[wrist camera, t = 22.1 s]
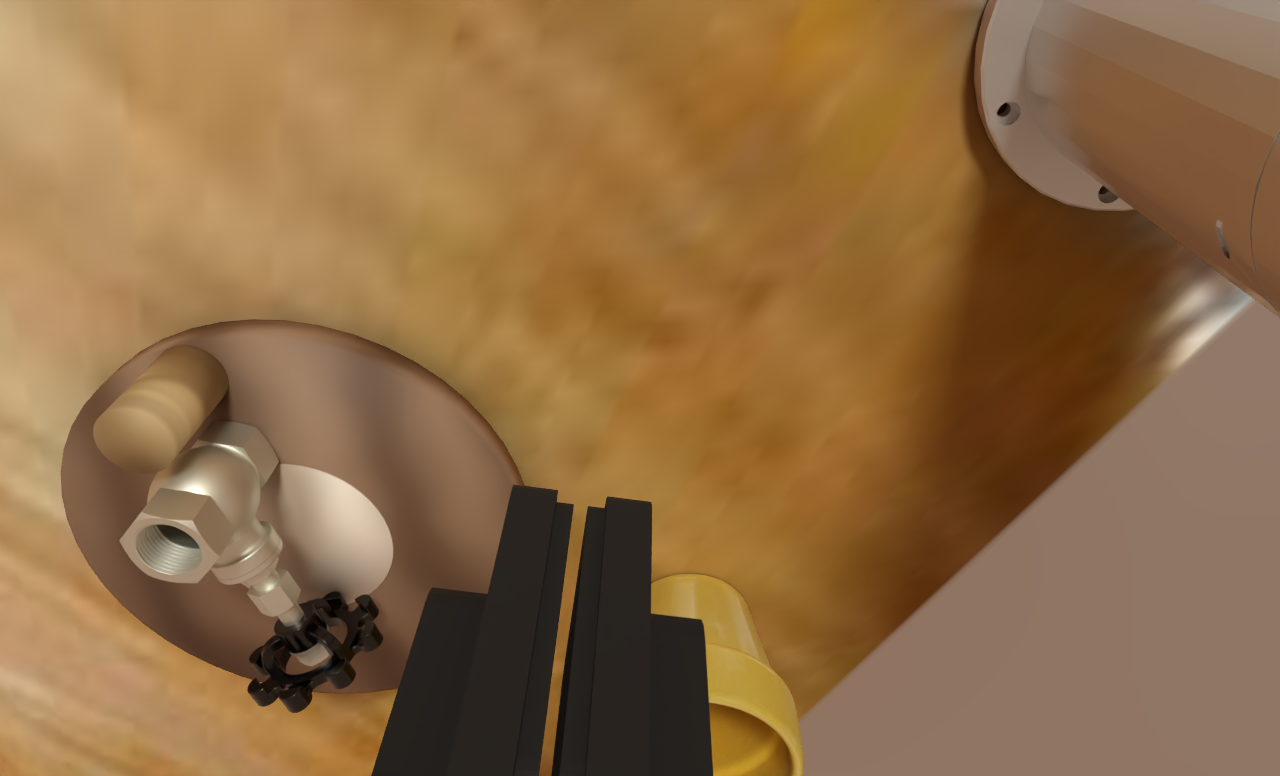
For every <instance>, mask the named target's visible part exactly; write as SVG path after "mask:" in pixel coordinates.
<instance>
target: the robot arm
mask: <svg viewBox="0 0 1280 776" xmlns="http://www.w3.org/2000/svg"><path fill="white" fill-rule="evenodd" d="M974 84H975V92H976V99H977V107H978V111H979V114H980V117H981V120H982V122H983V125H984V128H985V131H986V134H987V136H988V138H989V140H990V141H991V143H992V144H993V146H994V148H995V149H996V151H997V152H998V154H999V155H1000V157H1001V158H1002V160H1003V161H1004V162H1005V163H1006V164H1007V165H1008V166H1009V167H1010V168H1011V169H1012V170H1013V171H1014V172H1015V173H1016V174H1017V175H1018V176H1019V177H1020V178H1021V179H1023V180H1024V181H1025V182H1027V183H1028V184H1029V185H1031V186H1032V187H1033V188H1035V189H1036V190H1037V191H1039V192H1040V193H1042V194H1044V195H1046V196H1048V197H1051V198H1053V199H1055V200H1057V201H1060V202H1062V203H1064V204H1066V205H1071V206H1076V207H1080V208H1085V209H1090V210H1094V211H1128V210H1136V211H1138V212H1139V213H1140V214H1142V215H1143V216H1144V217H1146V218H1147V219H1148V220H1150V221H1151V222H1152V223H1154V224H1155V225H1156V226H1158V227H1159V228H1160V229H1162V230H1163V231H1164V232H1166V233H1167V234H1168V235H1170V236H1171V237H1172V238H1174V239H1175V240H1176V241H1178V242H1179V243H1180V244H1182V245H1183V246H1184V247H1186V248H1187V249H1188V250H1190V251H1191V252H1192V253H1194V254H1195V255H1196V256H1198V257H1199V258H1200V259H1202V260H1203V261H1204V262H1206V263H1207V264H1208V265H1210V266H1211V267H1212V268H1214V269H1215V270H1216V271H1218V272H1219V273H1220V274H1222V275H1223V276H1224V277H1226V278H1227V279H1228V280H1230V281H1231V282H1232V283H1234V284H1235V285H1236V286H1238V287H1239V288H1240V289H1242V290H1243V291H1244V292H1246V293H1247V294H1248V295H1250V296H1251V297H1252V298H1254V299H1255V300H1256V301H1258V302H1259V303H1260V304H1262V305H1263V306H1264V307H1266V308H1267V309H1268V310H1269V311H1271V312H1272V313H1273V314H1275V315H1276V316H1278V317H1279V318H1280V0H989V1H988V3H987V6H986V8H985V10H984V14H983V18H982V22H981V26H980V30H979V35H978V39H977V43H976V50H975V67H974ZM1005 102H1006V103H1007V108H1006V110H1005V111H1004V112H1003V113H1001V114H997V111H998V109H999V107H1000V106H1001V105H1003V104H1004V103H1005ZM1102 186H1104V188H1103V189H1102V190H1100V189H1101V187H1102ZM557 494H558V490H552V489H544V488H536V487H528V486H520V485H513V487H512V490H511V494H510V499H509V503H508V507H507V512H506V516H505V520H504V525H503V529H502V533H501V538H500V542H499V546H498V551H497V555H496V559H495V564H494V568H493V572H492V577H491V581H490V585H489V590H488V594H484V593H476V592H467V591H459V590H451V589H442V588H434V587H432V588H431V590H430V591H429V593H428V596H427V599H426V602H425V604H424V608H423V611H422V614H421V617H420V621H419V624H418V627H417V630H416V633H415V637H414V640H413V643H412V646H411V650H410V653H409V656H408V659H407V662H406V666H405V669H404V672H403V675H402V679H401V682H400V685H399V688H398V691H397V695H396V698H395V701H394V704H393V707H392V711H391V714H390V717H389V720H388V724H387V727H386V730H385V733H384V736H383V740H382V743H381V746H380V749H379V753H378V756H377V759H376V762H375V765H374V769H373V772H372V775H371V776H539V769H540V762H541V754H542V746H543V738H544V731H545V723H546V715H547V707H548V700H549V692H550V684H551V677H552V669H553V661H554V653H555V646H556V638H557V630H558V622H559V615H560V607H561V599H562V592H563V584H564V576H565V568H566V561H567V553H568V545H569V537H570V530H571V522H572V514H573V507H574V504H566V503H558V502H557ZM651 556H652V504H651V502H646V501H639V500H631V499H623V498H615V497H607V499H606V504H605V508H598V507H590V506H588V510H587V516H586V523H585V529H584V536H583V543H582V550H581V556H580V563H579V570H578V577H577V583H576V590H575V597H574V604H573V610H572V617H571V624H570V631H569V637H568V644H567V651H566V658H565V665H564V672H563V680H562V688H561V697H560V706H559V714H558V723H557V731H556V740H555V749H554V757H553V766H552V775H551V776H713V761H712V744H711V728H710V711H709V694H708V677H707V661H706V644H705V632H704V625H703V622H702V619H694V618H685V617H677V616H668V615H660V614H652V613H651Z"/></svg>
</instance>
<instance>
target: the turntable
mask: <svg viewBox="0 0 1280 776" xmlns="http://www.w3.org/2000/svg"><path fill="white" fill-rule="evenodd" d="M213 420H219V421H230V422H237V423H242V424H246V425H249V426H253V427H255V428H257V429H258V430H259V431H260V432H261V433H262V434H263V435H264V436H265V438H266V439H267V440H268V442H269V443H270V445H271V447H272V448H273V450H274V452H275V454H276V456H277V458H278V460H279V463H278V464H277V466H276V467H275V469H274V471H273V472H272V474H271V475H270V477H269V479H268V480H267V482H266V483H265V484H264V485H263V487H262V488H261V489H260V503H259V507H258V510H257V513H256V515H255V516H256V518H257V519H258V521H265V522H268V523H270V524H271V525H272V527H273V528H274V529H275V531H276V532H277V534H278V535H279V537H280V538H281V539H282V542H283V546H282V550H281V552H280V554H279V555H278V558H279V559H278V563H277V565H276V567H277V568H280V569H284V570H287V571H288V572H289V574H290V575H291V576H292V578H293V579H294V581H295V582H296V583H297V585H298V586H299V588H300V589H301V592H300V595H299V598H298V600H297V601H296V602H297V603H298V604H301V603H306V602H307V601H309V600H313V599H317V598H323V597H324V596H325V595H327V594H328V593H330V592H334V591H337V592H339V593H340V594H341V595H342V597H343V598H344V600H345V601H346V603H347V604H348V606H349V609H348V611H350V612H352V611H354V610H355V609H356V608H357V607H358V604H357V603H356V601H355V598H357V597H359V596H361V595H364V594H368V595H370V596H371V598H372V599H373V601H374V602H375V604H376V605H377V607H378V608H379V614H378V616H377V617H376V619H375V620H373V622H374V623H375V624H376V626H377V627H378V629H379V630H380V632H381V633H382V635H383V642H382V643H381V645H380V646H379V647H378V648H377V649H375V650H373V651H371V652H364V651H360V652H359V653H357V654H356V655H355V656H354V657H353V659H352V660H351V661H350V664H351V665H352V667H353V668H354V670H355V671H356V677H355V679H354V681H353V682H352V683H351V684H350V685H349V686H347V687H346V688H344V689H335V688H334V687H333V686H332V685H331V683H330V682H329V681H328V682H325V683H323V684H321V685H320V686H318V687H316V688H315V689H314V690H313V691H312V692H320V693H363V692H376V691H382V690H389V689H396V688H399V685H400V682H401V679H402V675H403V672H404V669H405V666H406V662H407V659H408V656H409V653H410V650H411V646H412V643H413V640H414V637H415V633H416V630H417V627H418V624H419V621H420V617H421V614H422V611H423V608H424V604H425V602H426V599H427V596H428V593H429V591H430V590H431V588H432V587H434V588H442V589H451V590H459V591H467V592H476V593H484V594H488V590H489V585H490V581H491V577H492V572H493V568H494V564H495V559H496V555H497V551H498V546H499V542H500V538H501V533H502V529H503V525H504V520H505V516H506V512H507V507H508V503H509V499H510V494H511V490H512V487H513V485H520V486H524V484H523V481H522V479H521V476H520V473H519V471H518V468H517V466H516V464H515V462H514V461H513V459H512V457H511V455H510V453H509V452H508V450H507V448H506V446H505V444H504V443H503V442H502V440H501V439H500V438H499V436H498V435H497V434H496V432H495V431H494V430H493V428H492V427H491V426H490V424H489V423H488V421H487V420H486V419H485V418H484V417H483V416H482V415H481V414H480V413H479V412H478V411H477V410H476V409H475V408H474V407H473V406H472V405H471V404H470V403H469V402H468V401H467V400H466V399H465V398H464V397H463V396H462V395H460V394H459V393H458V392H457V391H456V390H454V389H453V388H452V387H451V386H449V385H448V384H447V383H446V382H445V381H443V380H442V379H441V378H439V377H438V376H436V375H434V374H433V373H431V372H430V371H428V370H427V369H425V368H424V367H422V366H421V365H419V364H418V363H416V362H414V361H412V360H410V359H409V358H407V357H405V356H403V355H401V354H399V353H397V352H395V351H393V350H391V349H389V348H387V347H385V346H382V345H380V344H377V343H374V342H372V341H369V340H366V339H364V338H361V337H359V336H356V335H353V334H350V333H346V332H342V331H338V330H334V329H331V328H327V327H323V326H319V325H312V324H305V323H299V322H292V321H282V320H241V321H229V322H220V323H215V324H210V325H206V326H201V327H197V328H192V329H189V330H186V331H183V332H181V333H178V334H175V335H173V336H170V337H167V338H164V339H162V340H161V341H159V342H157V343H155V344H153V345H152V346H150V347H148V348H146V349H144V350H143V351H141V352H139V353H138V354H137V355H135V356H134V357H133V358H132V359H130V360H129V361H128V362H127V363H125V364H124V365H123V366H122V367H120V368H119V369H118V370H117V371H116V372H115V373H114V374H113V375H112V376H111V377H110V378H109V379H108V380H107V381H106V382H105V383H103V384H102V385H101V386H100V387H99V389H98V390H97V391H96V392H95V393H94V394H93V395H92V397H91V398H90V399H89V400H88V401H87V402H86V404H85V405H84V406H83V408H82V409H81V411H80V413H79V415H78V416H77V418H76V420H75V421H74V423H73V425H72V427H71V430H70V433H69V435H68V438H67V441H66V444H65V447H64V452H63V460H62V467H61V485H62V498H63V502H64V507H65V511H66V516H67V520H68V522H69V525H70V527H71V530H72V533H73V535H74V538H75V540H76V543H77V544H78V546H79V548H80V550H81V552H82V553H83V555H84V557H85V559H86V560H87V562H88V564H89V566H90V567H91V568H92V570H93V571H94V572H95V574H96V575H97V576H98V578H99V579H100V580H101V582H102V583H103V585H104V586H105V587H106V588H107V589H108V590H109V591H110V592H111V593H112V594H113V596H114V597H115V598H116V599H117V600H118V601H119V602H120V603H121V604H122V605H123V606H124V607H125V608H126V609H127V610H128V611H130V612H131V613H132V614H133V615H134V616H135V617H136V618H138V619H139V620H140V621H141V622H142V623H143V624H145V625H146V626H147V627H149V628H150V629H152V630H153V631H154V632H156V633H157V634H158V635H160V636H161V637H163V638H164V639H165V640H167V641H169V642H170V643H172V644H174V645H175V646H177V647H179V648H181V649H182V650H184V651H186V652H187V653H189V654H191V655H193V656H195V657H197V658H199V659H201V660H203V661H205V662H207V663H209V664H212V665H214V666H216V667H219V668H221V669H224V670H226V671H229V672H232V673H234V674H237V675H239V676H242V677H246V678H249V679H255V678H257V680H258V681H259V682H265V681H266V680H267V679H268V678H269V677H270V675H267V676H261V675H259V674H258V672H257V671H256V670H255V669H254V667H253V666H252V665H251V664H250V662H249V657H250V655H251V654H252V653H253V652H254V651H255V650H256V649H257V648H259V647H261V646H263V645H264V644H265V643H266V642H267V641H268V640H269V639H270V638H271V637H273V636H274V635H276V634H275V632H274V626H275V623H276V621H277V620H278V619H279V618H278V616H274V617H270V616H267V615H265V614H263V613H261V612H260V610H259V609H258V608H257V606H256V605H255V604H254V603H253V601H252V600H251V599H250V597H249V596H248V595H247V592H248V590H249V588H250V587H251V585H244V584H241V583H238V584H233V585H226V584H223V583H221V582H220V581H219V580H218V579H217V577H216V576H215V575H214V573H213V572H212V571H211V570H209V571H208V572H207V573H206V574H205V575H204V577H203V578H202V579H201V580H200V581H199V582H198V583H176V582H169V581H164V580H160V579H157V578H154V577H151V576H148V575H147V574H146V573H144V572H143V571H142V570H141V569H139V568H138V567H137V566H136V564H135V563H134V562H133V561H132V560H131V559H130V557H129V556H128V554H127V553H126V552H125V550H124V548H123V546H122V545H121V543H120V541H119V540H120V539H121V538H122V536H123V535H124V534H125V532H126V531H127V530H128V528H129V527H130V526H131V524H132V523H133V522H134V521H135V519H136V518H137V517H138V515H139V514H140V513H141V511H142V510H143V509H144V508H145V506H146V505H147V498H148V493H149V489H150V486H151V483H152V481H153V480H154V478H155V476H156V474H157V473H158V472H160V471H162V470H164V469H165V468H167V467H168V466H169V465H170V464H171V462H172V461H173V460H174V459H175V457H176V456H177V455H178V454H180V453H182V452H184V451H186V450H189V449H191V448H192V446H193V445H194V444H195V442H196V441H197V440H198V439H199V437H200V436H201V435H202V433H203V432H204V431H205V430H206V428H207V427H208V426H209V424H210V423H211V422H212V421H213ZM364 626H365V625H364ZM364 626H363V630H364ZM329 632H330V633H331V634H333V635H334V636H335V637H336V638H337V639H338V640H339V641H340V643H341V644H343V642H344V640H345V638H346V635H347V627H345V626H333V627H329ZM331 657H332V656H331V655H329V656H328V657H327V658H326V659H324V660H323V661H322V662H320V663H318V664H316V665H313V666H308V665H305V664H303V663H301V662H300V661H299V660H298V659H297V657H295V656H292V655H291V657H290V659H289V661H288V663H287V666H286V673H287V674H290V675H296V674H302V673H305V672H309V671H311V670H313V669H315V668H317V667H319V666H320V665H322V664H323V663H325V662H326V661H327V660H328V659H330V658H331Z"/></svg>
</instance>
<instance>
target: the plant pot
mask: <svg viewBox="0 0 1280 776" xmlns="http://www.w3.org/2000/svg"><path fill="white" fill-rule="evenodd" d="M651 613H652V614H660V615H668V616H677V617H685V618H694V619H702V622H703V625H704V632H705V644H706V661H707V677H708V694H709V711H710V728H711V744H712V761H713V776H803V772H804V758H803V749H802V740H801V733H800V727H799V722H798V716H797V711H796V707H795V703H794V700H793V697H792V695H791V693H790V691H789V689H788V687H787V686H786V684H785V683H784V681H783V680H782V679H781V678H780V677H779V676H778V675H777V674H776V673H775V672H774V671H773V670H772V669H771V667H770V664H769V662H768V659H767V657H766V654H765V651H764V649H763V646H762V644H761V641H760V638H759V636H758V633H757V630H756V628H755V625H754V622H753V619H752V616H751V614H750V611H749V608H748V606H747V604H746V602H745V600H744V599H743V597H742V596H741V595H740V594H739V593H738V592H737V591H736V590H735V589H734V588H733V587H731V586H730V585H728V584H727V583H725V582H724V581H722V580H719V579H716V578H713V577H710V576H706V575H701V574H678V575H672V576H668V577H665V578H662V579H659V580H657V581H655V582H653V583H651Z"/></svg>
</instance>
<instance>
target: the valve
mask: <svg viewBox="0 0 1280 776" xmlns="http://www.w3.org/2000/svg"><path fill="white" fill-rule="evenodd" d="M278 463H279V460H278V458H277V456H276V454H275V452H274V450H273V448H272V447H271V445H270V443H269V442H268V440H267V439H266V438H265V436H264V435H263V434H262V433H261V432H260V431H259V430H258V429H257V428H255V427H253V426H249V425H246V424H242V423H237V422H230V421H219V420H213V421H212V422H211V423H210V424H209V426H208V427H207V428H206V430H205V431H204V432H203V433H202V435H201V436H200V437H199V439H198V440H197V441H196V442H195V444H194V445H193V446H192V448H191V449H189V450H186V451H184V452H182V453H180V454H178V455H177V456H176V457H175V459H174V460H173V461H172V462H171V464H170V465H169V466H168V467H167V468H165V469H164V470H162V471H160V472H158V473H157V474H156V476H155V478H154V480H153V481H152V483H151V486H150V489H149V493H148V498H147V505H146V506H145V508H144V509H143V510H142V511H141V513H140V514H139V515H138V517H137V518H136V519H135V521H134V522H133V523H132V524H131V526H130V527H129V528H128V530H127V531H126V532H125V534H124V535H123V536H122V538H121V539H120V540H119V541H120V543H121V545H122V546H123V548H124V550H125V552H126V553H127V554H128V556H129V557H130V559H131V560H132V561H133V562H134V563H135V564H136V566H137V567H138V568H139V569H141V570H142V571H143V572H144V573H146V574H147V575H148V576H151V577H154V578H157V579H160V580H164V581H169V582H176V583H198V582H199V581H200V580H201V579H202V578H203V577H204V575H205V574H206V573H207V572H208V571H209V570H211V571H212V572H213V573H214V575H215V576H216V577H217V579H218V580H219V581H220V582H221V583H223V584H226V585H233V584H238V583H241V584H244V585H251V587H250V588H249V590H248V592H247V595H248V596H249V597H250V599H251V600H252V601H253V603H254V604H255V605H256V606H257V608H258V609H259V610H260V612H261V613H263V614H265V615H267V616H270V617H274V616H278V618H279V619H278V620H277V621H276V623H275V626H274V632H275V634H276V635H274V636H273V637H271V638H270V639H269V640H268V641H267V642H266V643H265V644H264V645H263V646H261V647H259V648H257V649H256V650H255V651H254V652H253V653H252V654H251V655H250V657H249V662H250V664H251V665H252V666H253V667H254V669H255V670H256V671H257V672H258V674H259V675H261V676H267V675H270V677H269V678H268V679H267V680H266V681H265V682H263V683H260V682H259V681H258V680H257V678H255V679H253V680H252V682H251V683H250V684H249V686H248V693H249V694H250V695H251V697H252V698H253V699H254V700H255V701H256V703H257V704H258V705H259V706H262V707H264V706H268V705H270V704H272V703H273V702H274V701H275V700H276V699H277V698H278V697H279V699H280V700H281V701H282V702H283V704H284V705H285V706H286V707H287V709H288V710H289V711H290V712H292V713H297V712H300V711H302V710H304V709H305V708H306V707H307V706H308V705H309V704H310V702H311V700H312V694H311V693H312V691H313V690H314V689H315V688H316V687H318V686H320V685H321V684H323V683H325V682H328V681H329V682H330V683H331V685H332V686H333V687H334V688H335V689H344V688H346V687H347V686H349V685H350V684H351V683H352V682H353V681H354V679H355V677H356V671H355V670H354V668H353V667H352V665H351V664H350V661H351V660H352V659H353V657H354V656H355V655H356V654H357V653H359V652H360V651H364V652H371V651H373V650H375V649H377V648H378V647H379V646H380V645H381V643H382V642H383V635H382V633H381V632H380V630H379V629H378V627H377V626H376V624H375V623H374V622H373V620H375V619H376V617H377V616H378V614H379V608H378V607H377V605H376V604H375V602H374V601H373V599H372V598H371V596H370V595H368V594H364V595H361V596H359V597H357V598H355V601H356V603H357V604H358V607H357V608H356V609H355V610H354V611H352V612H350V611H348V609H349V606H348V604H347V603H346V601H345V600H344V598H343V597H342V595H341V594H340V593H339V592H337V591H334V592H330V593H328V594H327V595H325V596H324V597H323V598H317V599H313V600H309V601H307V602H306V603H301V604H298V603H297V602H296V601H297V600H298V598H299V595H300V592H301V589H300V588H299V586H298V585H297V583H296V582H295V581H294V579H293V578H292V576H291V575H290V574H289V572H288V571H287V570H284V569H280V568H277V567H276V565H277V563H278V559H279V558H278V555H279V554H280V552H281V550H282V546H283V542H282V539H281V538H280V537H279V535H278V534H277V532H276V531H275V529H274V528H273V527H272V525H271V524H270V523H268V522H265V521H258V519H257V518H256V516H255V515H256V513H257V510H258V507H259V503H260V489H261V488H262V487H263V485H264V484H265V483H266V482H267V480H268V479H269V477H270V475H271V474H272V472H273V471H274V469H275V467H276V466H277V464H278ZM364 625H365V626H364ZM333 626H345V627H347V635H346V638H345V640H344V642H343V644H341V643H340V641H339V640H338V639H337V638H336V637H335V636H334V635H333V634H331V633H330V632H329V627H333ZM363 626H364V630H363ZM291 655H292V656H295V657H297V659H298V660H299V661H300V662H301V663H303V664H305V665H308V666H313V665H316V664H318V663H320V662H322V661H323V660H324V659H326V658H327V657H328V656H329V655H331V656H332V657H331V658H330V659H328V660H327V661H326V662H325V663H323V664H322V665H320V666H319V667H317V668H315V669H313V670H311V671H309V672H305V673H302V674H296V675H290V674H287V673H286V666H287V663H288V661H289V659H290V657H291Z"/></svg>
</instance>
